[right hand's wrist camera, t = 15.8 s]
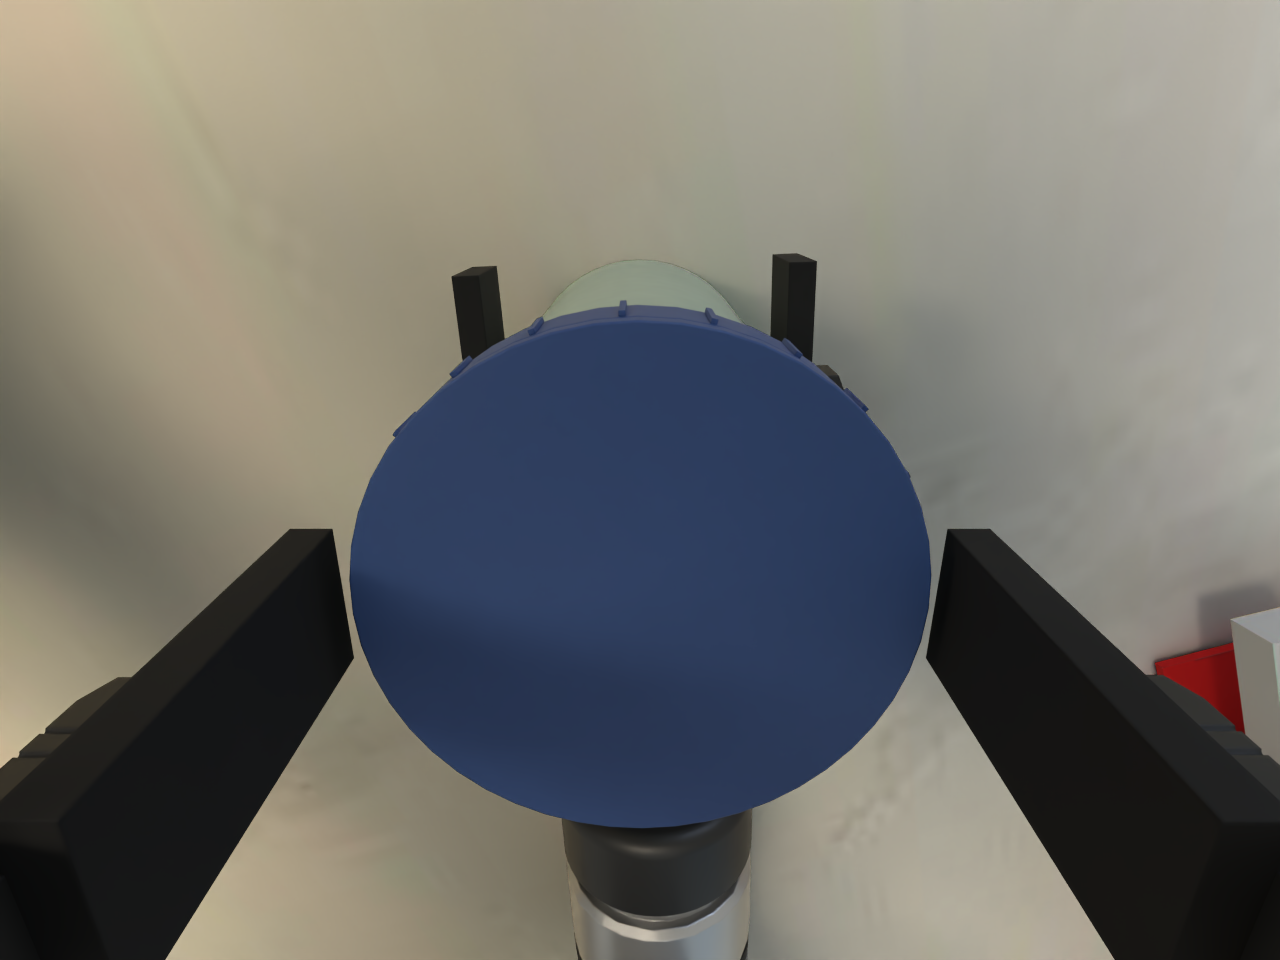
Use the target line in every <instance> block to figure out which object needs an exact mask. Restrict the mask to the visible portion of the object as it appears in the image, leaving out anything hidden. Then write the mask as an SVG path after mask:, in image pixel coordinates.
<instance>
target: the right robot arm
mask: <svg viewBox="0 0 1280 960" xmlns="http://www.w3.org/2000/svg"><path fill="white" fill-rule="evenodd" d="M353 659H354V655H353V649H352V643H351V637H350V631H349V625H348V619H347V613H346V607H345V601H344V595H343V589H342V583H341V577H340V571H339V565H338V559H337V553H336V547H335V541H334V536H333V530H332V529H289V530H288V531H287V532H286V533H285V534H284V535H283V536H282V537H281V538H280V539H279V540H278V541H277V542H276V543H274V544H273V545H272V546H271V547H270V548H269V549H268V550H267V551H266V552H265V553H264V554H263V555H262V556H261V557H260V558H259V559H257V560H256V561H255V562H254V563H253V564H252V565H251V566H250V567H249V568H248V569H247V570H246V571H245V572H244V573H243V574H241V575H240V576H239V577H238V578H237V579H236V580H235V581H234V582H233V583H232V584H231V585H230V586H229V587H228V588H227V589H225V590H224V591H223V592H222V593H221V594H220V595H219V596H218V597H217V598H216V599H215V600H214V601H213V602H212V603H211V604H209V605H208V606H207V607H206V608H205V609H204V610H203V611H202V612H201V613H200V614H199V615H198V616H197V617H196V618H195V619H193V620H192V621H191V622H190V623H189V624H188V625H187V626H186V627H185V628H184V629H183V630H182V631H181V632H180V633H179V634H177V635H176V636H175V637H174V638H173V639H172V640H171V641H170V642H169V643H168V644H167V645H166V646H165V647H164V648H163V649H161V650H160V651H159V652H158V653H157V654H156V655H155V656H154V657H153V658H152V659H151V660H150V661H149V662H148V663H147V664H145V665H144V666H143V667H142V668H141V669H140V670H139V671H138V672H137V673H136V674H135V675H134V676H133V677H118V678H116V679H114V680H112V681H111V682H109V683H107V684H105V685H104V686H102V687H100V688H98V689H97V690H95V691H93V692H91V693H90V694H88V695H86V696H84V697H83V698H81V699H79V700H77V701H76V702H75V703H74V704H73V705H71V706H70V707H69V708H68V709H67V710H66V711H65V712H64V713H62V714H61V715H60V716H59V717H58V718H57V719H56V720H55V721H53V722H52V723H51V724H50V725H49V726H48V727H47V728H46V731H45V733H44V734H39V735H38V736H37V737H35V738H34V739H33V740H32V741H31V742H30V743H29V744H28V745H26V746H25V747H24V748H23V749H22V750H21V751H20V752H19V753H20V754H19V757H18V758H12V759H11V760H10V761H8V762H7V763H6V764H5V765H4V766H3V767H2V768H0V960H165V959H166V958H167V956H168V954H169V953H170V951H171V950H172V948H173V946H174V945H175V943H176V942H177V940H178V938H179V937H180V935H181V934H182V932H183V931H184V929H185V927H186V926H187V924H188V923H189V921H190V919H191V918H192V916H193V915H194V913H195V911H196V910H197V908H198V907H199V905H200V903H201V902H202V900H203V899H204V897H205V895H206V894H207V892H208V891H209V889H210V887H211V886H212V884H213V883H214V881H215V879H216V878H217V876H218V875H219V873H220V871H221V870H222V868H223V867H224V865H225V863H226V862H227V860H228V859H229V857H230V855H231V854H232V852H233V851H234V849H235V847H236V846H237V844H238V843H239V841H240V839H241V838H242V836H243V835H244V833H245V831H246V830H247V828H248V827H249V825H250V823H251V822H252V820H253V819H254V817H255V815H256V814H257V812H258V811H259V809H260V807H261V806H262V804H263V803H264V801H265V799H266V798H267V796H268V795H269V793H270V791H271V790H272V788H273V787H274V785H275V783H276V782H277V780H278V779H279V777H280V775H281V774H282V772H283V771H284V769H285V767H286V766H287V764H288V763H289V761H290V759H291V758H292V756H293V755H294V753H295V751H296V750H297V748H298V747H299V745H300V743H301V742H302V740H303V739H304V737H305V735H306V734H307V732H308V731H309V729H310V727H311V726H312V724H313V723H314V721H315V719H316V718H317V716H318V715H319V713H320V711H321V710H322V708H323V707H324V705H325V703H326V702H327V700H328V699H329V697H330V696H331V694H332V692H333V691H334V689H335V688H336V686H337V684H338V683H339V681H340V680H341V678H342V676H343V675H344V673H345V672H346V670H347V668H348V667H349V665H350V664H351V662H352V660H353ZM926 659H927V660H928V662H929V664H930V665H931V667H932V668H933V670H934V672H935V673H936V675H937V676H938V678H939V680H940V681H941V683H942V684H943V686H944V688H945V689H946V691H947V692H948V694H949V696H950V697H951V699H952V700H953V702H954V703H955V705H956V707H957V708H958V710H959V711H960V713H961V715H962V716H963V718H964V719H965V721H966V723H967V724H968V726H969V727H970V729H971V731H972V732H973V734H974V735H975V737H976V739H977V740H978V742H979V743H980V745H981V747H982V748H983V750H984V751H985V753H986V755H987V756H988V758H989V759H990V761H991V763H992V764H993V766H994V767H995V769H996V771H997V772H998V774H999V775H1000V777H1001V779H1002V780H1003V782H1004V783H1005V785H1006V787H1007V788H1008V790H1009V791H1010V793H1011V795H1012V796H1013V798H1014V799H1015V801H1016V803H1017V804H1018V806H1019V807H1020V809H1021V811H1022V812H1023V814H1024V815H1025V817H1026V819H1027V820H1028V822H1029V823H1030V825H1031V827H1032V828H1033V830H1034V831H1035V833H1036V835H1037V836H1038V838H1039V839H1040V841H1041V843H1042V844H1043V846H1044V847H1045V849H1046V851H1047V852H1048V854H1049V855H1050V857H1051V859H1052V860H1053V862H1054V863H1055V865H1056V867H1057V868H1058V870H1059V871H1060V873H1061V875H1062V876H1063V878H1064V879H1065V881H1066V883H1067V884H1068V886H1069V887H1070V889H1071V891H1072V892H1073V894H1074V895H1075V897H1076V899H1077V900H1078V902H1079V903H1080V905H1081V907H1082V908H1083V910H1084V911H1085V913H1086V915H1087V916H1088V918H1089V919H1090V921H1091V923H1092V924H1093V926H1094V927H1095V929H1096V931H1097V932H1098V934H1099V935H1100V937H1101V938H1102V940H1103V942H1104V943H1105V945H1106V946H1107V948H1108V950H1109V951H1110V953H1111V954H1112V956H1113V958H1114V959H1115V960H1280V765H1279V764H1278V763H1277V762H1276V761H1275V760H1274V759H1272V758H1271V757H1270V756H1269V755H1263V754H1262V749H1261V748H1260V747H1259V746H1258V745H1257V744H1255V743H1254V742H1253V741H1252V740H1251V739H1250V738H1249V737H1247V736H1246V735H1245V734H1244V733H1243V732H1242V731H1236V729H1235V725H1234V724H1233V723H1232V722H1230V721H1229V720H1228V719H1227V718H1226V717H1225V716H1224V715H1223V714H1221V713H1220V712H1219V711H1218V710H1217V709H1216V708H1215V707H1213V706H1212V705H1211V704H1210V703H1209V702H1208V701H1207V700H1205V699H1204V698H1203V697H1201V696H1199V695H1197V694H1196V693H1194V692H1192V691H1190V690H1189V689H1187V688H1185V687H1183V686H1182V685H1180V684H1178V683H1176V682H1175V681H1173V680H1171V679H1169V678H1168V677H1166V676H1164V675H1145V674H1144V673H1143V672H1142V671H1141V670H1140V669H1139V668H1138V667H1137V666H1136V665H1135V664H1133V663H1132V662H1131V661H1130V660H1129V659H1128V658H1127V657H1126V656H1125V655H1124V654H1123V653H1122V652H1121V651H1120V650H1119V649H1117V648H1116V647H1115V646H1114V645H1113V644H1112V643H1111V642H1110V641H1109V640H1108V639H1107V638H1106V637H1105V636H1104V635H1103V634H1101V633H1100V632H1099V631H1098V630H1097V629H1096V628H1095V627H1094V626H1093V625H1092V624H1091V623H1090V622H1089V621H1088V620H1087V619H1085V618H1084V617H1083V616H1082V615H1081V614H1080V613H1079V612H1078V611H1077V610H1076V609H1075V608H1074V607H1073V606H1072V605H1071V604H1069V603H1068V602H1067V601H1066V600H1065V599H1064V598H1063V597H1062V596H1061V595H1060V594H1059V593H1058V592H1057V591H1056V590H1055V589H1053V588H1052V587H1051V586H1050V585H1049V584H1048V583H1047V582H1046V581H1045V580H1044V579H1043V578H1042V577H1041V576H1040V575H1039V574H1037V573H1036V572H1035V571H1034V570H1033V569H1032V568H1031V567H1030V566H1029V565H1028V564H1027V563H1026V562H1025V561H1024V560H1023V559H1021V558H1020V557H1019V556H1018V555H1017V554H1016V553H1015V552H1014V551H1013V550H1012V549H1011V548H1010V547H1009V546H1008V545H1007V544H1005V543H1004V542H1003V541H1002V540H1001V539H1000V538H999V537H998V536H997V535H996V534H995V533H994V532H993V531H992V530H991V529H948V530H947V535H946V541H945V547H944V553H943V559H942V565H941V571H940V577H939V583H938V589H937V595H936V601H935V607H934V613H933V619H932V625H931V631H930V637H929V643H928V649H927V655H926Z"/></svg>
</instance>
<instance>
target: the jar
mask: <svg viewBox="0 0 1280 960" xmlns="http://www.w3.org/2000/svg"><path fill="white" fill-rule="evenodd" d="M621 300H626V301H627V305H652V306H669V307H679V308H685V309H690V310H695V311H700V312H705V309H706V307H707V308H711V309H712V310H713V311H714V313H715V314H716V315H718V316H721V317H724V318H727V319H730V320H733V321H736V322H739V323H742V324H744V323H743V322H742V321H741V319H740V318H739V317H738V315H737V314H736V313H735V312H734V310H733V309H732V308H731V306H730V305H729V304H728V303H727V302H726V300H725V299H724V298H723V297H722V296H721V294H720V293H719V292H718V291H716V290H715V289H714V288H713V287H712V286H711V285H710V284H709V283H707V282H706V281H704V280H703V279H702V278H700V277H699V276H697V275H695V274H693V273H691V272H690V271H688V270H686V269H684V268H681V267H678V266H675V265H672V264H669V263H664V262H659V261H653V260H628V261H621V262H616V263H612V264H608V265H605V266H603V267H600V268H597V269H595V270H593V271H591V272H589V273H587V274H585V275H583V276H582V277H580V278H579V279H578V280H576V281H575V282H573V283H572V284H571V285H569V286H568V287H567V288H566V289H565V290H564V291H563V292H562V293H561V294H560V295H559V296H558V297H557V299H556V300H555V301H554V302H553V304H552V305H551V306H550V307H549V309H548V310H547V311H546V312H545V314H544V315H543V316H542V317H543V319H544V322H545V321H548V320H550V319H553V318H556V317H559V316H562V315H567V314H571V313H576V312H581V311H586V310H590V309H595V308H601V307H614V306H619V304H620V301H621Z"/></svg>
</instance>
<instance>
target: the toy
mask: <svg viewBox="0 0 1280 960" xmlns="http://www.w3.org/2000/svg"><path fill="white" fill-rule="evenodd" d="M1230 622H1231V630H1232V637H1233V643H1229V644H1225V645H1222V646H1218V647H1214V648H1210V649H1206V650H1202V651H1199V652H1195V653H1191V654H1187V655H1183V656H1179V657H1175V658H1172V659H1168V660H1164V661H1160V662H1156V663H1155V665H1156V670H1157V675H1164V676H1166V677H1168V678H1169V679H1171V680H1173V681H1175V682H1176V683H1178V684H1180V685H1182V686H1183V687H1185V688H1187V689H1189V690H1190V691H1192V692H1194V693H1196V694H1197V695H1199V696H1201V697H1203V698H1204V699H1205V700H1207V701H1208V702H1209V703H1210V704H1211V705H1212V706H1213V707H1215V708H1216V709H1217V710H1218V711H1219V712H1220V713H1221V714H1223V715H1224V716H1225V717H1226V718H1227V719H1228V720H1229V721H1230V722H1232V723H1233V724H1234V725H1235V729H1236V731H1242V732H1243V733H1244V734H1245V735H1246V736H1247V737H1249V738H1250V739H1251V740H1252V741H1253V742H1254V743H1255V744H1257V745H1258V746H1259V747H1260V748H1261V749H1262V754H1263V755H1269V756H1270V757H1271V758H1272V759H1274V760H1275V761H1276V762H1277V763H1278V764H1279V765H1280V607H1278V608H1274V609H1269V610H1265V611H1261V612H1257V613H1253V614H1249V615H1245V616H1240V617H1236V618H1232V619H1230Z"/></svg>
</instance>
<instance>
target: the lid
mask: <svg viewBox="0 0 1280 960" xmlns="http://www.w3.org/2000/svg"><path fill="white" fill-rule="evenodd" d="M802 355H803V354H802V353H801V352H800V351H799V350H798V349H797V348H796V347H795V346H794V345H793V344H792V343H791V342H790V341H789V340H787V339H786V338H784V339H783V341H782V342H781V341H779V340H777V339H775V338H773V337H771V336H769V335H767V334H765V333H763V332H761V331H759V330H757V329H755V328H753V327H751V326H748V325H745V324H742V323H739V322H736V321H733V320H730V319H727V318H724V317H721V316H718V315H716V314H715V313H714V311H713V310H712V309H711V308H707V307H706V309H705V312H700V311H695V310H690V309H685V308H679V307H669V306H652V305H627V301H626V300H621V301H620V304H619V306H614V307H601V308H595V309H590V310H586V311H581V312H576V313H571V314H567V315H562V316H559V317H556V318H553V319H550V320H548V321H545V322H544V319H543V317H540V318H537V319H536V320H535V322H534V323H533V324H532V325H531V326H530V327H528V328H525V329H523V330H522V331H520V332H518V333H516V334H514V335H512V336H510V337H508V338H506V339H504V340H502V341H501V342H499V343H497V344H495V345H493V346H491V347H490V348H489V349H487V350H486V351H484V352H483V353H482V354H480V355H479V356H477V357H476V358H475V359H472V358H471V357H470V356H468V357H467V358H465V359H464V360H463V361H462V362H461V363H460V364H459V365H458V366H457V367H456V368H455V369H454V370H453V371H452V372H451V373H450V375H451V377H452V378H451V379H450V380H449V381H448V382H446V383H445V384H444V385H443V386H442V387H441V388H440V389H439V390H438V391H437V392H436V393H435V394H434V395H433V396H432V397H431V398H430V399H429V400H428V401H427V402H426V403H425V404H424V405H423V406H422V407H421V408H420V409H419V410H418V411H417V412H414V413H413V414H412V415H411V416H410V417H409V418H408V419H407V420H406V421H405V422H404V423H403V424H402V425H401V426H400V427H399V428H398V429H397V430H396V431H395V432H394V433H393V436H394V437H395V439H394V440H393V441H392V443H391V444H390V445H389V446H388V448H387V450H386V452H385V453H384V455H383V457H382V459H381V461H380V462H379V464H378V466H377V468H376V470H375V471H374V473H373V475H372V477H371V479H370V481H369V484H368V487H367V489H366V492H365V495H364V497H363V500H362V503H361V505H360V508H359V511H358V515H357V520H356V524H355V529H354V534H353V539H352V544H351V559H350V579H349V580H350V590H351V599H352V609H353V616H354V620H355V624H356V627H357V631H358V635H359V639H360V643H361V646H362V649H363V651H364V654H365V656H366V658H367V661H368V663H369V666H370V668H371V671H372V673H373V675H374V677H375V679H376V681H377V682H378V684H379V686H380V687H381V689H382V691H383V693H384V694H385V696H386V698H387V699H388V701H389V703H390V704H391V706H392V707H393V708H394V709H395V711H396V712H397V713H398V715H399V716H400V717H401V718H402V720H403V721H404V722H405V724H406V725H407V726H408V727H409V729H410V730H411V731H412V732H413V733H414V734H415V735H416V736H417V737H418V738H419V739H420V740H421V741H422V742H423V743H424V744H425V745H426V746H427V747H428V748H429V749H430V750H431V751H432V752H433V753H435V754H436V755H437V756H438V757H440V758H441V759H442V760H443V761H445V762H446V763H447V764H448V765H450V766H451V767H452V768H453V769H455V770H456V771H457V772H459V773H460V774H462V775H464V776H465V777H467V778H468V779H470V780H472V781H473V782H475V783H476V784H478V785H480V786H481V787H483V788H484V789H486V790H488V791H490V792H492V793H494V794H497V795H499V796H501V797H503V798H505V799H507V800H509V801H511V802H513V803H515V804H518V805H521V806H524V807H527V808H529V809H532V810H535V811H538V812H541V813H543V814H547V815H551V816H555V817H559V818H563V819H567V820H571V821H575V822H580V823H587V824H594V825H601V826H608V827H628V828H654V827H672V826H680V825H687V824H693V823H700V822H706V821H711V820H714V819H718V818H722V817H726V816H730V815H734V814H737V813H741V812H743V811H746V810H749V809H751V808H754V807H757V806H759V805H762V804H765V803H767V802H770V801H772V800H774V799H776V798H778V797H780V796H782V795H784V794H786V793H788V792H790V791H792V790H794V789H796V788H798V787H800V786H801V785H803V784H805V783H806V782H808V781H809V780H811V779H812V778H814V777H815V776H817V775H819V774H820V773H822V772H823V771H825V770H826V769H828V768H829V767H830V766H831V765H832V764H834V763H835V762H836V761H837V760H839V759H840V758H841V757H842V756H843V755H845V754H846V753H847V752H848V751H850V750H851V749H852V748H853V747H854V746H855V745H856V744H857V743H858V742H859V741H860V740H861V739H862V738H863V736H864V735H865V734H866V733H867V732H868V731H869V730H870V729H871V728H872V727H873V726H874V725H875V724H876V722H877V721H878V720H879V718H880V717H881V716H882V714H883V713H884V712H885V710H886V709H887V708H888V706H889V705H890V703H891V702H892V701H893V699H894V698H895V696H896V694H897V692H898V690H899V689H900V687H901V685H902V683H903V682H904V680H905V678H906V676H907V674H908V673H909V671H910V668H911V665H912V663H913V660H914V658H915V655H916V653H917V650H918V648H919V645H920V643H921V639H922V635H923V631H924V626H925V622H926V618H927V614H928V609H929V597H930V585H931V563H930V549H929V539H928V535H927V530H926V526H925V521H924V517H923V513H922V508H921V505H920V503H919V500H918V498H917V495H916V493H915V490H914V488H913V485H912V483H911V480H910V475H909V472H908V471H907V470H906V469H905V468H904V466H903V465H902V463H901V461H900V459H899V458H898V456H897V454H896V453H895V451H894V449H893V447H892V446H891V444H890V442H889V441H888V440H887V439H886V437H885V436H884V435H883V434H882V432H881V431H880V430H879V429H878V428H877V426H876V425H875V424H874V423H873V421H872V420H871V419H870V418H869V416H868V415H867V414H866V413H865V412H866V411H868V410H869V409H868V408H867V407H866V406H865V405H864V404H863V403H862V402H861V401H860V400H859V399H858V398H857V397H856V396H855V395H854V394H853V393H852V392H851V391H850V390H849V389H848V388H846V389H845V390H844V391H843V390H842V389H841V388H840V387H839V386H838V385H837V384H836V383H834V382H833V381H832V380H831V379H830V378H829V377H828V376H827V375H826V374H825V373H824V372H822V371H821V370H820V369H819V368H818V367H817V366H816V365H815V364H814V363H812V362H811V361H809V360H808V359H806V358H805V357H803V356H802Z"/></svg>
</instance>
